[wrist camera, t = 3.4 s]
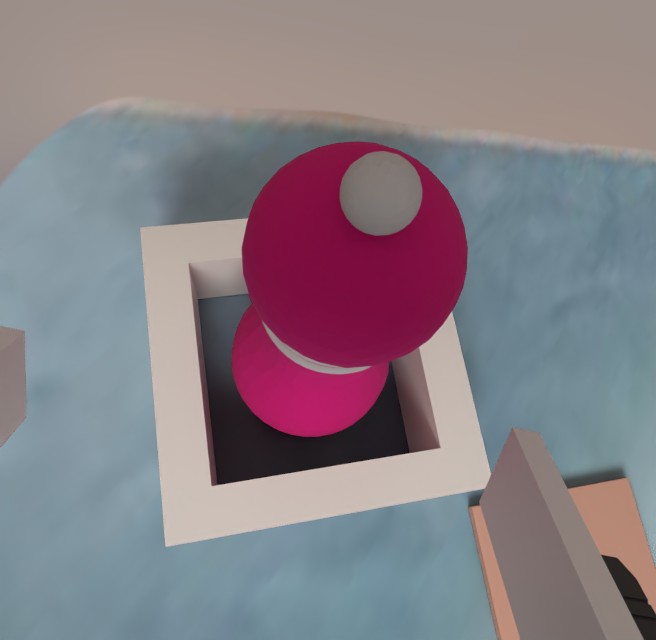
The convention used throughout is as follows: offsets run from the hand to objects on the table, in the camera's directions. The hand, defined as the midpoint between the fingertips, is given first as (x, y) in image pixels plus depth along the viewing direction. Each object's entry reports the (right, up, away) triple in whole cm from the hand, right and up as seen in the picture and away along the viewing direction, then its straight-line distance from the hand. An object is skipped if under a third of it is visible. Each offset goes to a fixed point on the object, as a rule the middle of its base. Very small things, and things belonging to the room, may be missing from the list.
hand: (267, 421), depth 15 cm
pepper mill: (0, 0, +15) cm, 15 cm away
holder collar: (0, 0, +15) cm, 15 cm away
